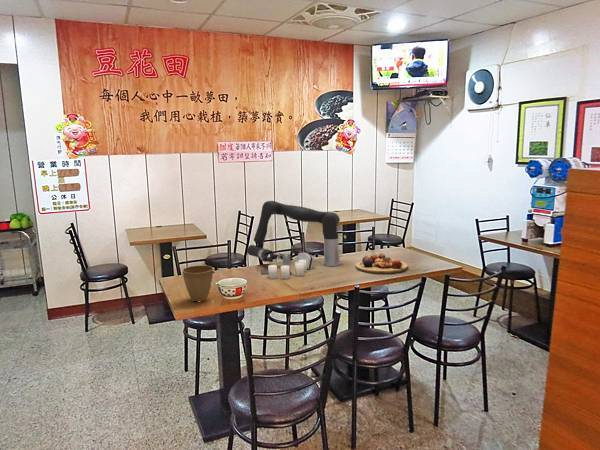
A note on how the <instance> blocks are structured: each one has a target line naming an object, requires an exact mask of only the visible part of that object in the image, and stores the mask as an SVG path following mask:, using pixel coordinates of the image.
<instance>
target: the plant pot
mask: <svg viewBox="0 0 600 450" xmlns="http://www.w3.org/2000/svg"><path fill="white" fill-rule="evenodd" d="M181 271H182V277H183V279H184V284H185V289H186V290H187V294H188V296H189V298H190V300H191V302H193V301H204V300H206V299H207V300H208V298H209V293H210V291H211V286H212V282H213V275H214V274H213V273H214V267H213V266H211V265H192V266H187V267H184V268H183V269H181ZM207 300H206V301H207ZM204 302H205V301H204Z"/></svg>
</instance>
